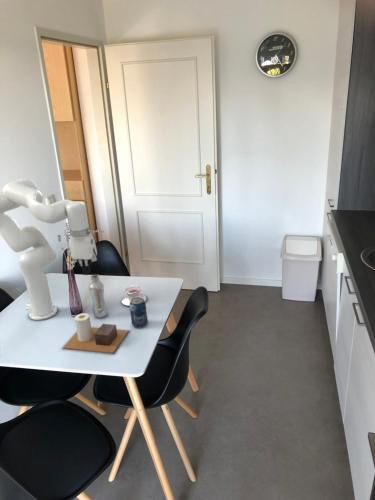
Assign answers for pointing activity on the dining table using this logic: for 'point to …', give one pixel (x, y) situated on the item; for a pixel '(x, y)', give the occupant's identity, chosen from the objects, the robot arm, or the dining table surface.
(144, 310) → the soda can
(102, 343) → the walnut block
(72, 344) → the cork mat
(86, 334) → the paper roll
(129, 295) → the teacup
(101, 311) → the plastic bottle
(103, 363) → the dining table surface
